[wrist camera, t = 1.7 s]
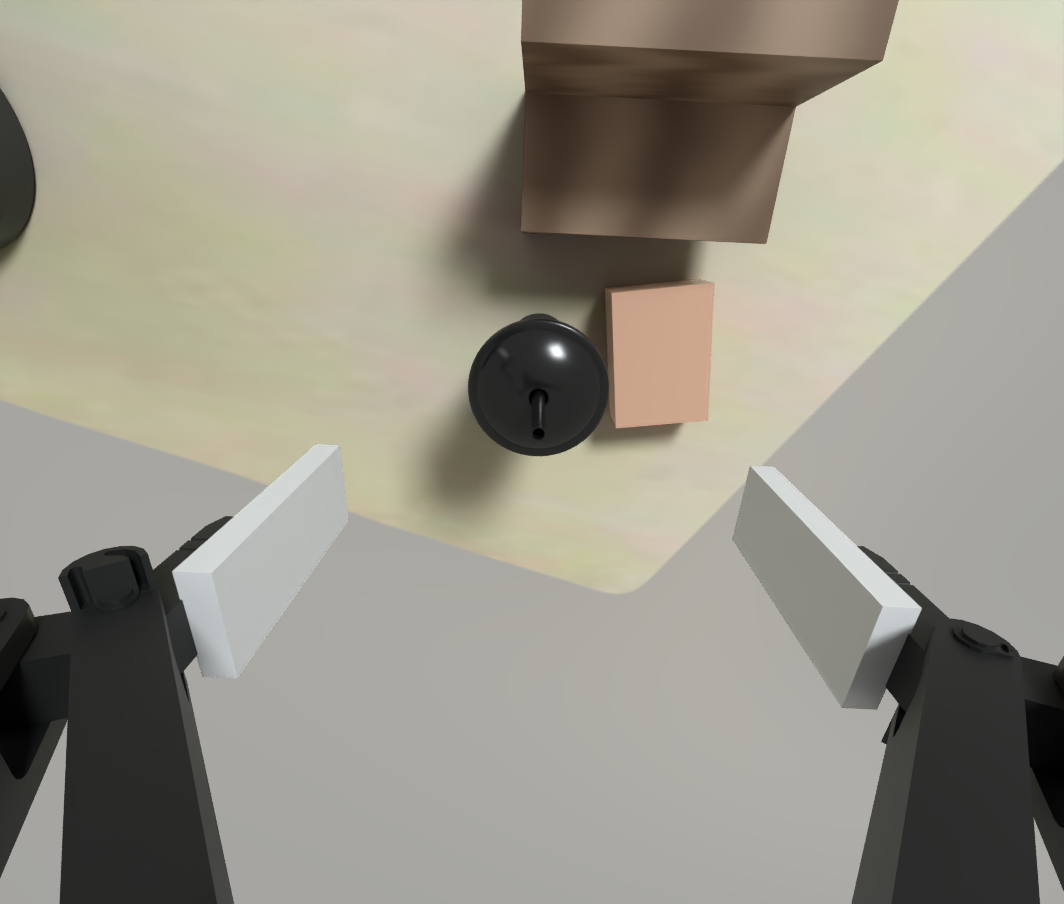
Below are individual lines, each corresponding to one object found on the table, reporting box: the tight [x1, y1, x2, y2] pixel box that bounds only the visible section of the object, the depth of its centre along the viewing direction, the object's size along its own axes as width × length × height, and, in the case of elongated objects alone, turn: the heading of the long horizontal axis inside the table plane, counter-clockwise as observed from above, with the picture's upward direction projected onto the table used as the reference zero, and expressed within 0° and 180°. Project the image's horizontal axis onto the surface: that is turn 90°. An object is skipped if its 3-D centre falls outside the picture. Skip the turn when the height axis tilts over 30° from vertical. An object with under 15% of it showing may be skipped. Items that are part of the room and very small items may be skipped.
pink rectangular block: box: [605, 279, 714, 428], centre depth 38 cm, size 7×10×4 cm
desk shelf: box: [521, 0, 899, 244], centre depth 28 cm, size 15×9×14 cm, turn 87°
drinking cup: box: [468, 314, 609, 456], centre depth 30 cm, size 8×8×20 cm
